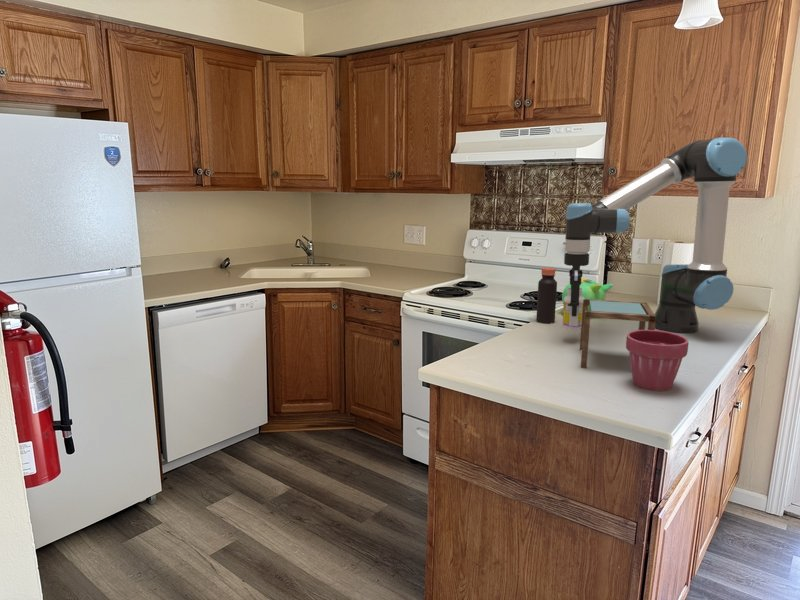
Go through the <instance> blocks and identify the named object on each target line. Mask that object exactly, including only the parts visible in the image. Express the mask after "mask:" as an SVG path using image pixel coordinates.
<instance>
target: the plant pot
mask: <svg viewBox="0 0 800 600" xmlns="http://www.w3.org/2000/svg"><path fill="white" fill-rule="evenodd" d="M625 348H626V350H627V351H628V352H629V360H630V368H631V376H632V382H633V384H634V385H635V386H637V387H638V388H642V389H645V390H649V391H657V392H658V391H659V392H661V391H669V390H671V388H673V385H674V383H675V380H676V377H677V375H678V372H679V369H680V367H681V364H682V361H683V359H684V358H685V357H686V356H687V355H688V353H689V351H688V350H689V340H688V338H687V337H685V336H683V335H680V334H678V333H676V332H671V331H665V330H659V329H655V330H648V329H645V330H639V329H638V330H632V331H629V332H627V334H626V341H625Z"/></svg>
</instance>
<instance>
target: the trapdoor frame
mask: <svg viewBox="0 0 800 600" xmlns="http://www.w3.org/2000/svg"><path fill="white" fill-rule="evenodd" d="M590 300H591V301H607V302H624V303H640V305H641V306H642V308H643V310H644V311H645V313H646V314H647V315H642V314H627V313H612V312H597V311H588V305H590ZM592 318H593V319H605V320H620V321H632V322H633V321H635V322H638V330H646V323H647V330H656V328H655V322H656V316H655V312H653V310H652V308H651V307H650V305H649V303H647V302H641V301H625V300H623V301H622V300H606V299H605V300H593V299H583V311H582V324H581V329H580V341H579V351H581V350H582V351H581V355H580V356H581V358H580V368H583V369H587V366H588V351H589V341H590V340H589V339H590V330H591V329H590V328H591V319H592Z"/></svg>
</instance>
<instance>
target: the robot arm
mask: <svg viewBox="0 0 800 600" xmlns="http://www.w3.org/2000/svg"><path fill="white" fill-rule="evenodd" d="M747 160H748V156H747V151H746V148H745V146H744V145H743V143H741V142H740V140H738V139H736V138H733V137H721V136H720V137H716V138H715V137H714V138H710V139H709V138H708V139H702V140H701V139H700V140H695V141H692V142H691V143H688V144H686V145H684V146H682V147H680V148H679V149H678V150H675V151H674V152H672V153H671V154H669V155H668V156H666V157H664V158H663V159H661V161H660V164H659V165H657V166H655V167H654V168H652V169H650V170H648V171H647V172H645V173H644V174H641V175H640V176H638V177H637V178H635V179H634V180H632V181H630V182H629V183H627V184H625V185H623V186H622V187H620V188H619V189H617V190H616V191H613V192H612V193H610V194H609V195H607V196H605V197H603V198H602V199H600V200H598V201H596V202H595V203H593V204H591V203H590V202H589V203H588V202H585V203H584V202H581V203H580V202H577V203H576V202H575V203H569V204H567V207H566V213H565V241H563V242H562V245H563V246H564V251H565V253H564V258H563V262H564V263H563V264H564V265H566V266H569V267H572V268H571V269H569V274H568V275H569V283H570V285H571V302H570V304H568V306H570V314H569V326H578V313H579V290H580V285H581V277H582V278H583V269H581V267H586V266H588V265H589V264H590V254H589V252H590V251H591V235H592V234H619V233H625V232H626V231H627V230H628V229H629V227H630V222H631V221H630V220H631V218H630V217H631V216H630V214H629V211H628V210H630V209H631V208H633V207H635V206H637V205H638V204H639V203H641V202H643V201H645V200H646V199H648V198H650V197H651V196H653V195H655V194H656V193H658V192H659V191H660V192H661V191H662V190H664V189H665V188H667V187H668V186H670V185H673V184H675V185H676V184H679V183H682V182H683V181H684V180H687V179H691V178H693V184H694V185H695V186H697V188H698V192H697V193H698V195H697V204H696V206H697V207H696V215H695V220H696V221H695V228H694V232H695V233H694V238H693V239H694V241H693V252H692V253H693V254H692V262H690V263H688V264H666V265H664V266H663V268H662V273H661V282H660V291H659V293H660V294H659V302H658V307H657V309H656V311H655V312H654V314H655V316H656V322H655V329H656V330H660V331H666V332H671V333H684V334H685V333H695V332H698V331H699V326H700V323H699V318H698V315H697V310H696V307H698V308H699V309H706V310H711V311H712V310H717V309H718V310H719V309H720V308H722V307H724V306H725V305H726V304H727V303H729V301H730V300H731V299H732V296H733V293H734V284H733V282H732V281H731V279H730V278H729V277H727V276H728V275H727V274H728V267H727V266H726V265H725V264H724V262H723V261H724V260H723V259H724V252H725V251H724V250H725V238H726V228H727V219H728V218H727V217H728V210H729V209H728V208H729V201H730V200H729V198H730V188H731V187H732V186H733V185H734V184H735V183H736V182H737V175H738V174H739V173H741V172H742V170H743V169H744V168H745V166H746V164H747ZM574 301H577V302H574Z"/></svg>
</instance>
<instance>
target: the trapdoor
mask: <svg viewBox="0 0 800 600" xmlns="http://www.w3.org/2000/svg"><path fill="white" fill-rule="evenodd" d="M590 309H591V311H597V312H612V313H627V314H642V315H647V314H646V313H645V311H644V310H643V308H642V306H641V305H640V303H624V302H607V301H591V300H590Z"/></svg>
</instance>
